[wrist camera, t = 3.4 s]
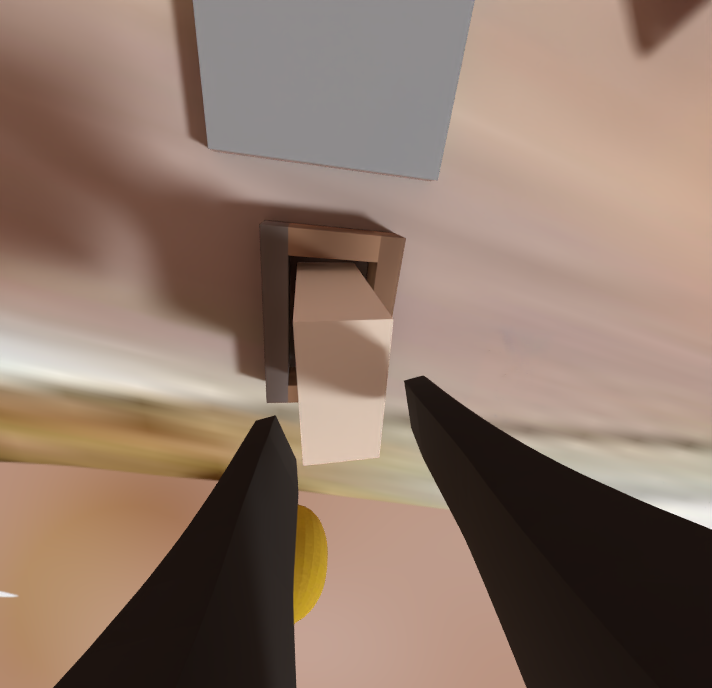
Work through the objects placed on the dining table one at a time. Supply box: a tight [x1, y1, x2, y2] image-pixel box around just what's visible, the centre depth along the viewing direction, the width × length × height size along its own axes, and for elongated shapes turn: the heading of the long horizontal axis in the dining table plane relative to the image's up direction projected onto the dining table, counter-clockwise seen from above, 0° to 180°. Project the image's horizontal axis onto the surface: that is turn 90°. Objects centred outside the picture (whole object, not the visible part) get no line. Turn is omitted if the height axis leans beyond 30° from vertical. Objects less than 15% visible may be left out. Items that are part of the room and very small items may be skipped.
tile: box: [193, 0, 475, 181], centre depth 11 cm, size 10×10×1 cm
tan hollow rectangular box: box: [259, 220, 406, 403], centre depth 16 cm, size 7×10×2 cm
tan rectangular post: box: [293, 262, 393, 466], centre depth 13 cm, size 3×6×8 cm, turn 178°
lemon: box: [293, 505, 328, 624], centre depth 21 cm, size 6×6×8 cm
